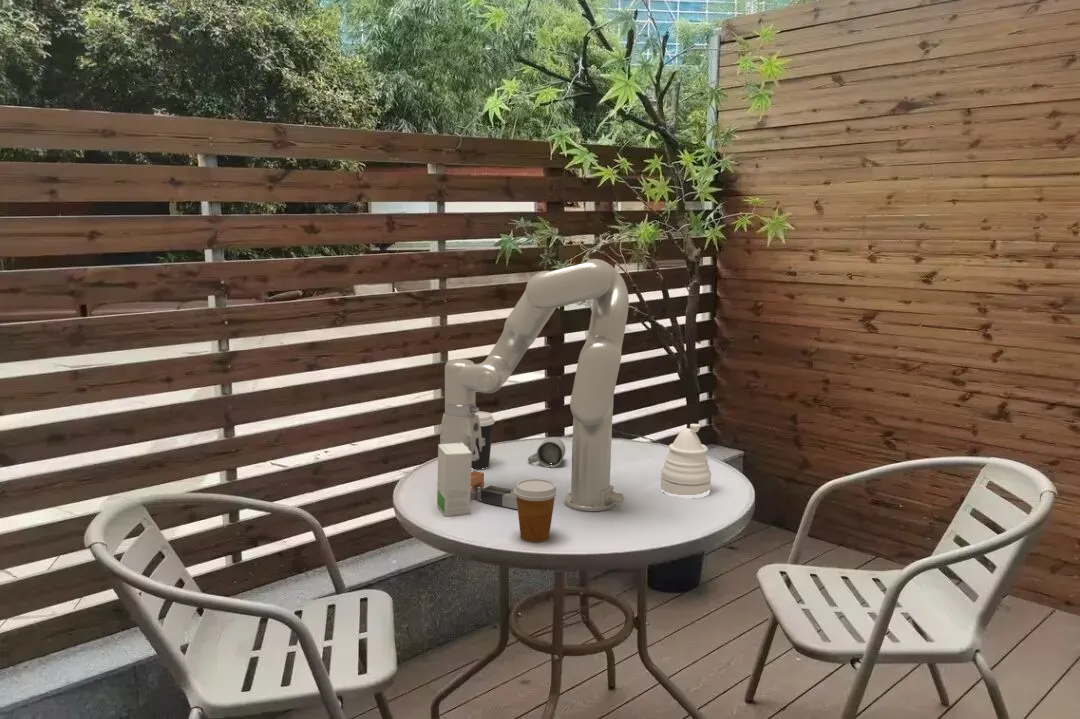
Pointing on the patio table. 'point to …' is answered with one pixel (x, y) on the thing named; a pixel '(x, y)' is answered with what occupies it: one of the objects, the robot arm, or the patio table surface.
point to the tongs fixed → (480, 487)
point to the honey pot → (686, 465)
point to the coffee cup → (484, 440)
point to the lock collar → (477, 479)
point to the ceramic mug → (549, 453)
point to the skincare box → (454, 479)
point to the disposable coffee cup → (535, 508)
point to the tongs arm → (497, 498)
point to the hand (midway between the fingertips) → (460, 479)
